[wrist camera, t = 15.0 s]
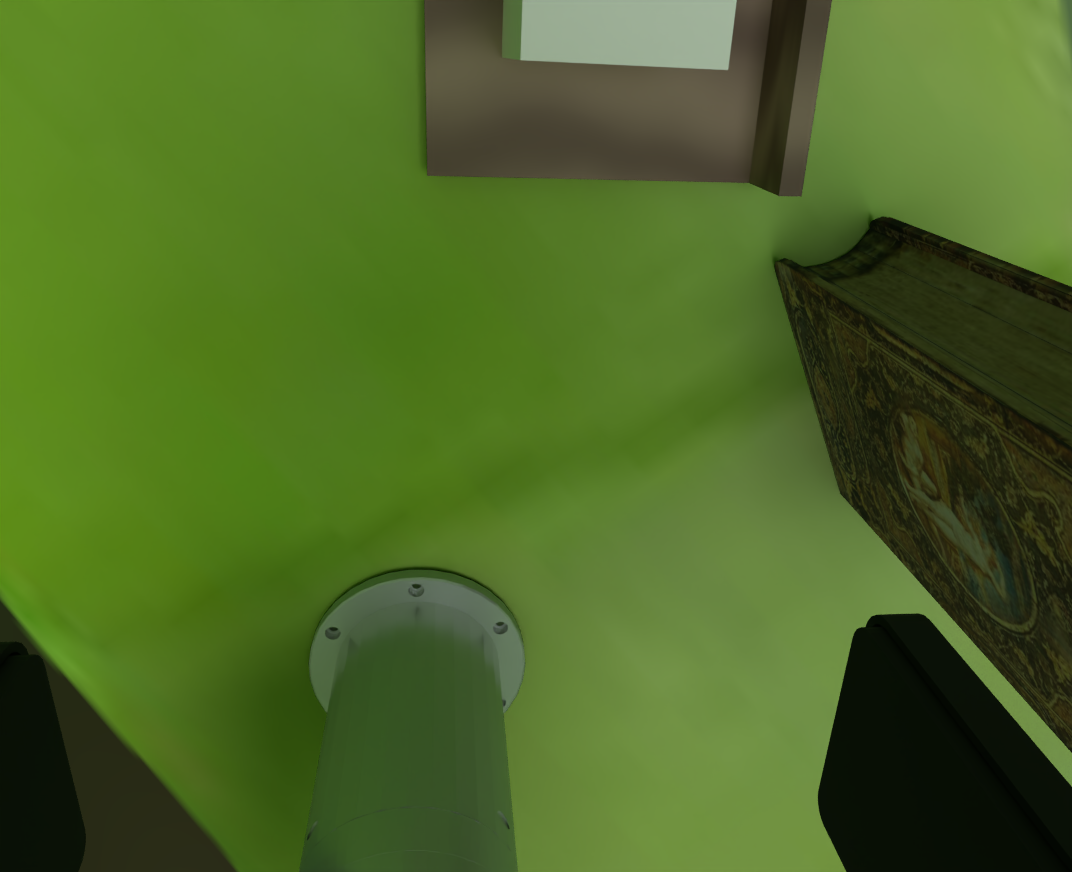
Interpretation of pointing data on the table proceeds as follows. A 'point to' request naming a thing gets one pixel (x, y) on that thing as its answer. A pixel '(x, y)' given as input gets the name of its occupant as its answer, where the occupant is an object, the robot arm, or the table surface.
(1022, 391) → the book
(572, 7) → the plain rectangular box
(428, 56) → the shelf
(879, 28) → the table surface
